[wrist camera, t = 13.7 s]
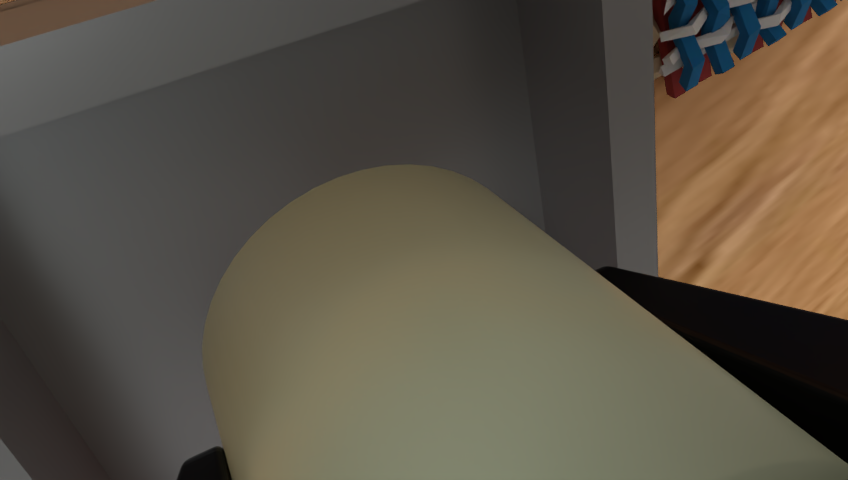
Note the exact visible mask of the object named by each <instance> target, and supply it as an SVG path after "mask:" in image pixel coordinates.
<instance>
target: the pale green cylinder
mask: <svg viewBox="0 0 848 480" xmlns="http://www.w3.org/2000/svg"><path fill="white" fill-rule="evenodd" d="M202 357H203V370H204V375H205V380H206V384H207V389H208V393H209V396H210V400H211V404H212V408H213V411H214V415H215V419H216V423H217V427H218V430H219V434H220V438H221V442H222V446H223V449H224V452H225V456H226V460H227V464H228V467H229V471H230V475H231V479H232V480H848V464H847V463H846V462H844V461H843V460H842V459H840V458H839V457H838V456H837V455H835V454H834V453H833V452H831V451H830V450H829V449H827V448H826V447H825V446H823V445H822V444H821V443H820V442H818V441H817V440H816V439H814V438H813V437H812V436H810V435H809V434H808V433H806V432H805V431H804V430H803V429H801V428H800V427H799V426H797V425H796V424H795V423H793V422H792V421H791V420H789V419H788V418H787V417H786V416H784V415H783V414H782V413H780V412H779V411H778V410H776V409H775V408H774V407H773V406H771V405H770V404H769V403H767V402H766V401H765V400H763V399H762V398H761V397H759V396H758V395H757V394H756V393H754V392H753V391H752V390H750V389H749V388H748V387H746V386H745V385H744V384H742V383H741V382H740V381H739V380H737V379H736V378H735V377H733V376H732V375H731V374H729V373H728V372H727V371H725V370H724V369H723V368H722V367H720V366H719V365H718V364H716V363H715V362H714V361H712V360H711V359H710V358H708V357H707V356H706V355H705V354H703V353H702V352H701V351H699V350H698V349H697V348H695V347H694V346H693V345H691V344H690V343H689V342H688V341H686V340H685V339H684V338H682V337H681V336H680V335H678V334H677V333H676V332H674V331H673V330H672V329H671V328H669V327H668V326H667V325H665V324H664V323H663V322H661V321H660V320H659V319H657V318H656V317H655V316H654V315H652V314H651V313H650V312H648V311H647V310H646V309H644V308H643V307H642V306H640V305H639V304H638V303H637V302H635V301H634V300H633V299H631V298H630V297H629V296H627V295H626V294H625V293H623V292H622V291H621V290H620V289H618V288H617V287H616V286H614V285H613V284H612V283H610V282H609V281H608V280H607V279H605V278H604V277H603V276H601V275H600V274H599V273H597V272H596V271H595V270H593V269H592V268H591V267H590V266H588V265H587V264H586V263H584V262H583V261H582V260H580V259H579V258H578V257H576V256H575V255H574V254H573V253H571V252H570V251H569V250H567V249H566V248H565V247H563V246H562V245H561V244H559V243H558V242H557V241H556V240H554V239H553V238H552V237H550V236H549V235H548V234H546V233H545V232H544V231H542V230H541V229H540V228H539V227H537V226H536V225H535V224H533V223H532V222H531V221H529V220H528V219H527V218H525V217H524V216H523V215H522V214H520V213H519V212H518V211H516V210H515V209H514V208H512V207H511V206H510V205H508V204H507V203H506V202H505V201H503V200H502V199H501V198H499V197H498V196H497V195H495V194H494V193H493V192H491V191H490V190H489V189H488V188H486V187H484V186H483V185H481V184H479V183H478V182H476V181H474V180H473V179H471V178H468V177H466V176H464V175H461V174H459V173H456V172H454V171H450V170H446V169H442V168H437V167H433V166H424V165H412V164H405V165H386V166H380V167H375V168H369V169H364V170H360V171H357V172H353V173H350V174H347V175H344V176H341V177H337V178H335V179H333V180H331V181H329V182H326V183H324V184H322V185H320V186H317V187H315V188H313V189H311V190H310V191H308V192H307V193H305V194H303V195H302V196H300V197H298V198H297V199H295V200H293V201H292V202H290V203H289V204H287V205H286V206H285V207H284V208H282V209H281V210H280V211H278V212H277V213H276V214H275V215H273V216H272V217H271V218H269V219H268V220H267V221H266V222H265V223H264V224H263V225H262V226H261V227H260V228H259V229H258V230H257V231H256V232H255V233H254V234H253V235H252V236H251V237H250V238H249V240H248V241H247V242H246V243H245V245H244V246H243V247H242V248H241V250H240V251H239V252H238V253H237V255H236V256H235V257H234V259H233V260H232V262H231V264H230V265H229V267H228V268H227V270H226V272H225V273H224V275H223V277H222V278H221V280H220V282H219V285H218V287H217V289H216V292H215V294H214V296H213V298H212V301H211V304H210V307H209V311H208V314H207V318H206V322H205V326H204V335H203V343H202Z"/></svg>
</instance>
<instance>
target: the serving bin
mask: <svg viewBox="0 0 848 480" xmlns="http://www.w3.org/2000/svg"><path fill="white" fill-rule="evenodd" d="M405 164H412V165H424V166H433V167H437V168H442V169H446V170H450V171H454V172H456V173H459V174H461V175H464V176H466V177H468V178H471V179H473V180H474V181H476V182H478V183H479V184H481V185H483V186H484V187H486V188H488V189H489V190H490V191H491V192H493V193H494V194H495V195H497V196H498V197H499V198H501V199H502V200H503V201H505V202H506V203H507V204H508V205H510V206H511V207H512V208H514V209H515V210H516V211H518V212H519V213H520V214H522V215H523V216H524V217H525V218H527V219H528V220H529V221H531V222H532V223H533V224H535V225H536V226H537V227H539V228H540V229H541V230H542V231H544V232H545V233H546V234H548V235H549V236H550V237H552V238H553V239H554V240H556V241H557V242H558V243H559V244H561V245H562V246H563V247H565V248H566V249H567V250H569V251H570V252H571V253H573V254H574V255H575V256H576V257H578V258H579V259H580V260H582V261H583V262H584V263H586V264H587V265H588V266H590V267H591V268H592V269H593V270H596V269H598V268H601V267H604V266H611V267H616V268H621V269H625V270H629V271H634V272H638V273H643V274H647V275H651V276H656V277H658V252H657V204H656V156H655V108H654V59H653V11H652V0H16V1H12V2H8V3H5V4H1V5H0V480H177V477H178V474H179V471H180V468H181V466H182V464H183V463H184V462H185V461H186V460H187V459H189V458H191V457H193V456H195V455H198V454H200V453H202V452H204V451H206V450H208V449H210V448H213V447H215V446H220V447H222V448H223V446H222V442H221V438H220V434H219V430H218V427H217V423H216V419H215V415H214V411H213V408H212V404H211V400H210V396H209V393H208V389H207V384H206V380H205V375H204V370H203V357H202V343H203V335H204V326H205V322H206V318H207V314H208V311H209V307H210V304H211V301H212V298H213V296H214V294H215V292H216V289H217V287H218V285H219V282H220V280H221V278H222V277H223V275H224V273H225V272H226V270H227V268H228V267H229V265H230V264H231V262H232V260H233V259H234V257H235V256H236V255H237V253H238V252H239V251H240V250H241V248H242V247H243V246H244V245H245V243H246V242H247V241H248V240H249V238H250V237H251V236H252V235H253V234H254V233H255V232H256V231H257V230H258V229H259V228H260V227H261V226H262V225H263V224H264V223H265V222H266V221H267V220H268V219H269V218H271V217H272V216H273V215H275V214H276V213H277V212H278V211H280V210H281V209H282V208H284V207H285V206H286V205H287V204H289V203H290V202H292V201H293V200H295V199H297V198H298V197H300V196H302V195H303V194H305V193H307V192H308V191H310V190H311V189H313V188H315V187H317V186H320V185H322V184H324V183H326V182H329V181H331V180H333V179H335V178H337V177H341V176H344V175H347V174H350V173H353V172H357V171H360V170H364V169H369V168H375V167H380V166H386V165H405Z"/></svg>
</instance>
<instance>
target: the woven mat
mask: <svg viewBox="0 0 848 480" xmlns="http://www.w3.org/2000/svg"><path fill="white" fill-rule="evenodd" d="M840 1H842V0H840ZM836 5H838V4H837V3H836V0H652V11H653V46H654V45H655V44H656V42H657V41H658V45H659V51H660V53H659V54H657V55H656V56H654V57H653V59H654V79H656V78H658V77H660V76H662V75H663V76H664V80H665V86H666V92H667V95H669V96H671V97H673V98H677V97H678V96H680V95H682V94H683V93H685V92H686V91H688V90H690V89H691V88H693V87H695V86H696V85H698V82H701V81H703V80H705V79H706V78H708V77H710V76H712V75H711V65H712V67H713V70H714V72H715V74H721V73H724V72H726V71H728V70H729V69H731V68H733V67H734V66H735V65H734V63H733V62H734V61H733V59H732V57H731V54H730V53H735V54H736V56H737V57H738V58H739V59H740V60H741V59H743V58H744V57H746V56H748V55H749V54H751V53H752V52H754V51H756V50H758V49H760V48H762V47H764V46H763V40H764V41H765V42H766V44H767V45H768V46H770V45H771V44H773V43H775V42H777V41H778V40H780V39H781V38H782V37H784V36H785V35H787V34H786V33H785V31H784V30H783V28H782V23H783V22H784V23H785V24H786V25H787V26H788V27H789V28H790V29H791V30H792V29H794V28H795V27H797V26H799V25H800V24H802V23H803V22H805V21H807V20H809V19H811V18H812V13H811V7H812V9H813V10H814V11H815V12H816V14H817V15H818V16H821V15H822V14H824V13H826V12H828V11H829V10H831V9H832V8H833V7H835V6H836ZM810 6H811V7H810ZM785 16H786V17H785ZM784 18H785V19H784ZM783 20H784V21H783ZM710 63H711V65H710ZM683 66H684V67H683ZM682 67H683V68H682Z"/></svg>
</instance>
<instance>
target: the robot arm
mask: <svg viewBox="0 0 848 480" xmlns="http://www.w3.org/2000/svg"><path fill="white" fill-rule="evenodd" d="M595 271H596V272H597V273H599V274H600V275H601V276H603V277H604V278H605V279H607V280H608V281H609V282H610V283H612V284H613V285H614V286H616V287H617V288H618V289H620V290H621V291H622V292H623V293H625V294H626V295H627V296H629V297H630V298H631V299H633V300H634V301H635V302H637V303H638V304H639V305H640V306H642V307H643V308H644V309H646V310H647V311H648V312H650V313H651V314H652V315H654V316H655V317H656V318H657V319H659V320H660V321H661V322H663V323H664V324H665V325H667V326H668V327H669V328H671V329H672V330H673V331H674V332H676V333H677V334H678V335H680V336H681V337H682V338H684V339H685V340H686V341H688V342H689V343H690V344H691V345H693V346H694V347H695V348H697V349H698V350H699V351H701V352H702V353H703V354H705V355H706V356H707V357H708V358H710V359H711V360H712V361H714V362H715V363H716V364H718V365H719V366H720V367H722V368H723V369H724V370H725V371H727V372H728V373H729V374H731V375H732V376H733V377H735V378H736V379H737V380H739V381H740V382H741V383H742V384H744V385H745V386H746V387H748V388H749V389H750V390H752V391H753V392H754V393H756V394H757V395H758V396H759V397H761V398H762V399H763V400H765V401H766V402H767V403H769V404H770V405H771V406H773V407H774V408H775V409H776V410H778V411H779V412H780V413H782V414H783V415H784V416H786V417H787V418H788V419H789V420H791V421H792V422H793V423H795V424H796V425H797V426H799V427H800V428H801V429H803V430H804V431H805V432H806V433H808V434H809V435H810V436H812V437H813V438H814V439H816V440H817V441H818V442H820V443H821V444H822V445H823V446H825V447H826V448H827V449H829V450H830V451H831V452H833V453H834V454H835V455H837V456H838V457H839V458H840V459H842V460H843V461H844V462H846V463H847V464H848V320H845V319H841V318H836V317H832V316H828V315H823V314H819V313H814V312H810V311H806V310H801V309H797V308H792V307H788V306H784V305H779V304H775V303H770V302H766V301H762V300H757V299H753V298H748V297H744V296H740V295H735V294H731V293H726V292H722V291H718V290H713V289H709V288H704V287H700V286H696V285H691V284H687V283H682V282H678V281H673V280H669V279H665V278H660V277H656V276H651V275H647V274H643V273H638V272H634V271H629V270H625V269H621V268H616V267H611V266H604V267H601V268H598V269H596V270H595ZM177 480H232V479H231V475H230V471H229V467H228V464H227V460H226V456H225V452H224V449H223V448H222V447H220V446H215V447H213V448H210V449H208V450H206V451H204V452H202V453H200V454H198V455H195V456H193V457H191V458H189V459H187V460H186V461H185V462H184V463H183V464H182V466H181V468H180V471H179V474H178V477H177Z"/></svg>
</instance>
